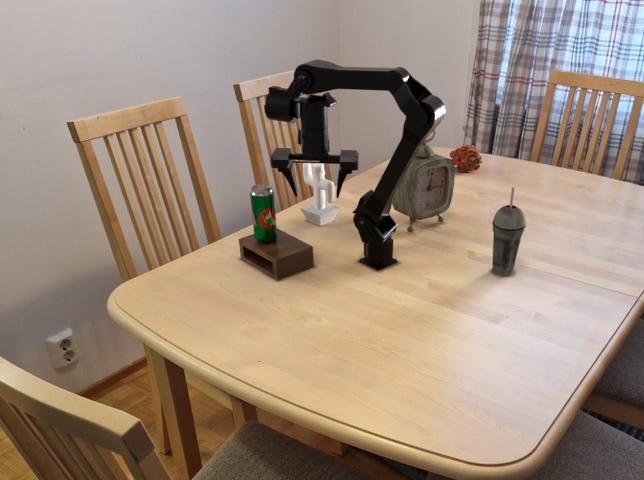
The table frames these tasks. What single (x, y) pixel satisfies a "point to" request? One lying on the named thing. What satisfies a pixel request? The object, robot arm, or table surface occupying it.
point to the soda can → (263, 213)
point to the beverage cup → (507, 237)
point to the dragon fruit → (466, 158)
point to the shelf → (277, 255)
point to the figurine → (319, 195)
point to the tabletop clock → (425, 186)
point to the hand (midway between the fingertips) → (317, 197)
